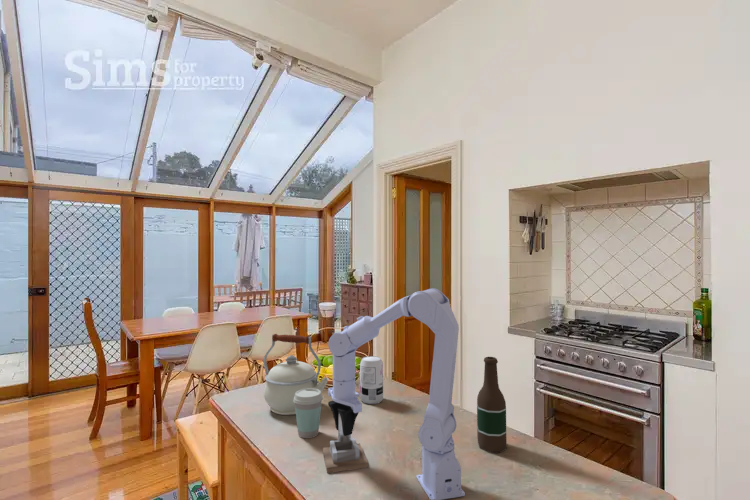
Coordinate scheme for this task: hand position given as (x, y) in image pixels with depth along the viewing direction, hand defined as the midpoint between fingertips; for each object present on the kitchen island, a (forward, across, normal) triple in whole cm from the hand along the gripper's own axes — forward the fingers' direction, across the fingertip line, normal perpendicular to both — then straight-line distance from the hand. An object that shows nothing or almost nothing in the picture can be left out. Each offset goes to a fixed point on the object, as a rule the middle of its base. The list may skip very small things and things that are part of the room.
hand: (344, 431), depth 98 cm
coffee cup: (+7, +19, +2) cm, 20 cm away
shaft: (+2, 0, 0) cm, 2 cm away
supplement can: (+7, +30, -28) cm, 42 cm away
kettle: (+7, +39, -3) cm, 40 cm away
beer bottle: (+7, -16, -37) cm, 41 cm away
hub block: (+7, 0, 0) cm, 7 cm away
